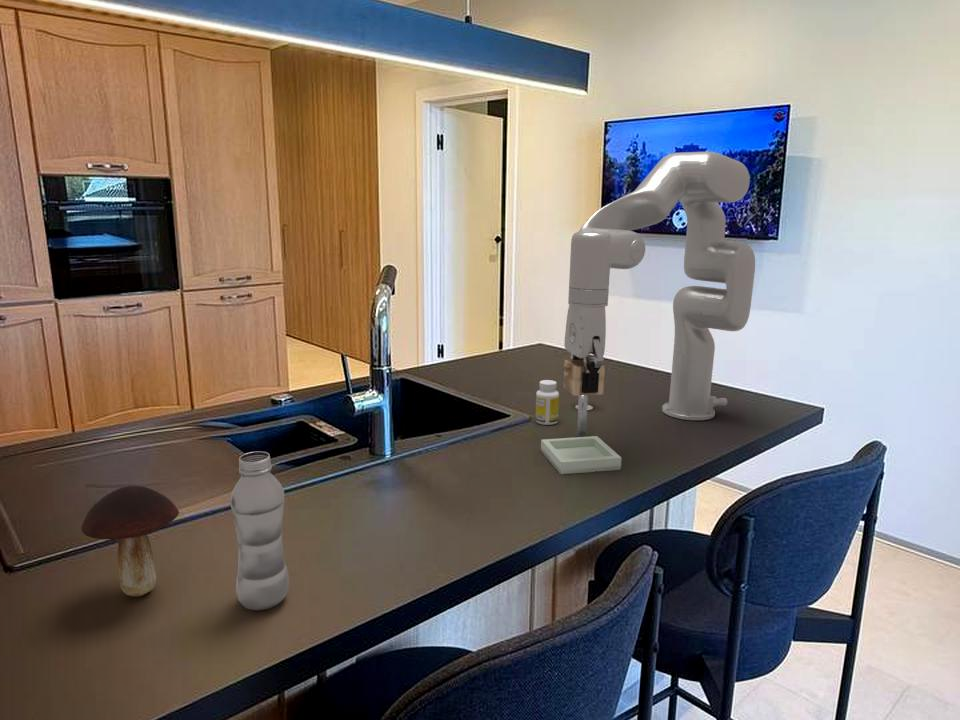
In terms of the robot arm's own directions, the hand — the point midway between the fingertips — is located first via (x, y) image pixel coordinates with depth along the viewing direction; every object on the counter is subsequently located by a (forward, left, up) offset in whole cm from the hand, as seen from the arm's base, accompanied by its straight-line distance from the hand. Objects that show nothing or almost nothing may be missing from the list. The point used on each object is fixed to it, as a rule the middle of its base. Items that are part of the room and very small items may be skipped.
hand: (583, 386), depth 131 cm
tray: (0, 0, -15) cm, 15 cm away
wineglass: (-14, -33, -16) cm, 39 cm away
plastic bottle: (+58, +38, -16) cm, 71 cm away
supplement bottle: (-1, -24, -16) cm, 29 cm away
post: (-5, -12, -15) cm, 20 cm away
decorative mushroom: (+74, +33, -16) cm, 82 cm away
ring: (0, 0, -1) cm, 1 cm away
